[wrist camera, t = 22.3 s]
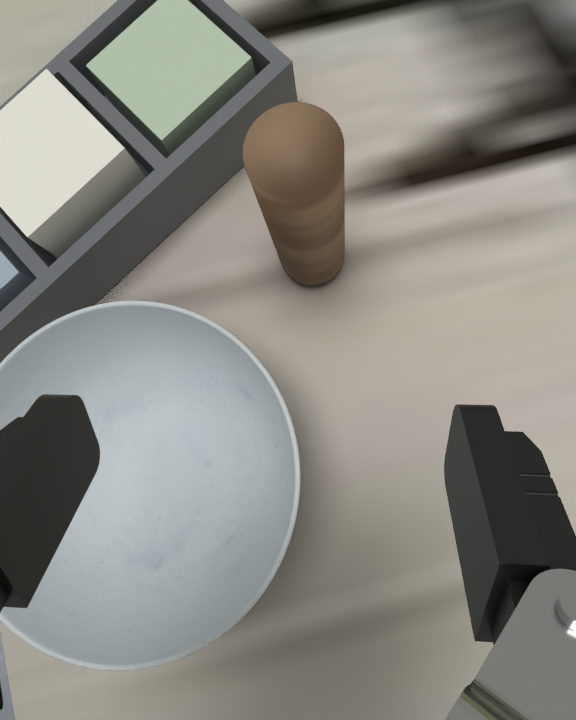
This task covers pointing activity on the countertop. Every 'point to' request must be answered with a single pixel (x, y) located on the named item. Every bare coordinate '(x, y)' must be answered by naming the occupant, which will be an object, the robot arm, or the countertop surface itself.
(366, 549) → the countertop surface
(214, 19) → the keypad
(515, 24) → the countertop surface
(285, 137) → the walnut stylus
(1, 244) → the slate key
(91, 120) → the ivory key
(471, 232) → the countertop surface
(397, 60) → the countertop surface
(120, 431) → the chinaware
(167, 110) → the sage key
